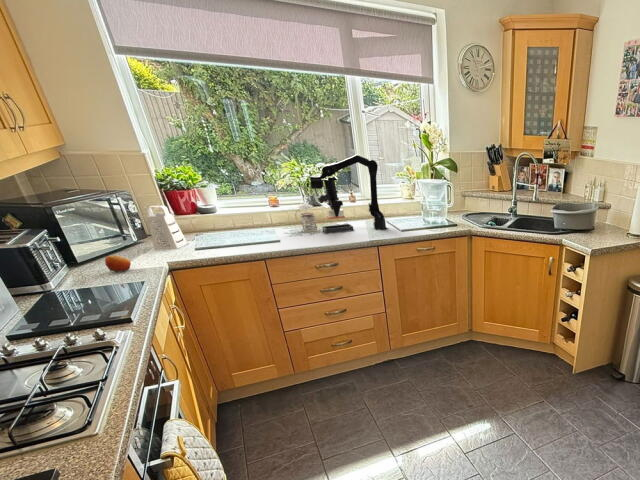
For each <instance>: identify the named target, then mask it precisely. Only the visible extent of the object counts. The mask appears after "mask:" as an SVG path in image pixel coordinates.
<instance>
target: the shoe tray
mask: <svg viewBox="0 0 640 480" xmlns="http://www.w3.org/2000/svg"><path fill="white" fill-rule="evenodd" d="M321 229H322V231H323V233H325V234H334V233H343V232H351V231H352V232H353V231H354V226H353V225H352V224H350V223H344V224H335V225H334V224H333V225H323V226H322V227H321Z"/></svg>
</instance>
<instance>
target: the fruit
mask: <svg viewBox="0 0 640 480" xmlns="http://www.w3.org/2000/svg"><path fill="white" fill-rule="evenodd" d="M104 264H105V267H107V269H108V270H109V271H110V272H114V275H116V274H117V273H118V272H128V271H129V270H130V269H131V264H132V263H131V260H130V259H128V258H127V257H125V256H121V255H116V254H113V255H107V256H106V257H105V259H104Z"/></svg>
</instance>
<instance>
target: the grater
mask: <svg viewBox="0 0 640 480" xmlns="http://www.w3.org/2000/svg"><path fill="white" fill-rule="evenodd" d="M152 208H161V209H162V210H163V212H164V213H154V211H153V209H152ZM146 211H147V214H148V215H147V216H146V217H147V221H148V227H149V232H150V235H151V239H152V244H153V249H154V250H177V249H180V248H182V247H183V246H185V245H187V244H188V240H187V239H186V237H185V235H184V233H183V231H182V230H181V228H180V225H179V224H178V222H177V221H176V219H175V217H174V215H173V213H170V211H169V208H168V207H167V206H166V205H149V206H147V208H146Z"/></svg>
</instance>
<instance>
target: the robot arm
mask: <svg viewBox="0 0 640 480" xmlns="http://www.w3.org/2000/svg"><path fill="white" fill-rule="evenodd" d="M357 163H358V164H361V165H362V166H364V167H367V170H368V175H369V187H370V199H371V200H370V202H369V203H368V212H369V213H370V215H371V216H372V218H373V221H372V224H373V229H375V230H377V231H380V230H387V229H388V227H387V225H386V224H387V223H386V218H385V215H384V213H383V212H382V211H381V210H380V207H379V202H378V186H377V174H378V167H379V166H378V163H377V161H376V160H375V159H369V158H366V157H364V156H361V155H359V154H355V155H353V156H351V157H347V158H346V159H344V160H343V159H342V160H341V161H338V162H336V163H335V162H334V163H329V164H325V165H324V166H323V167H322V169H321V172H322V173H321V174H320V175H319V176H313V175H310V176H309V179H310V188H311V189H312V190H323V188H325V191H324V193H322V194H320V195H318V196H316V199H317V201H318V202H319V204H323V203H326V204H327V206H329V207H330V210H334V213H335V216H336V217H338V214H339V211H340V209H341V208H342V206H344V203H343V201H342V200H341V199H340V198H339V197H338V193H339V192H338V190H337V185H336V181H338V180H339V179H338V178H337V177H336V175H335V174H337V173H338V172H339V171H340V170H343V169H346V168H348V167H351V166H353V165H355V164H357Z"/></svg>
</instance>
